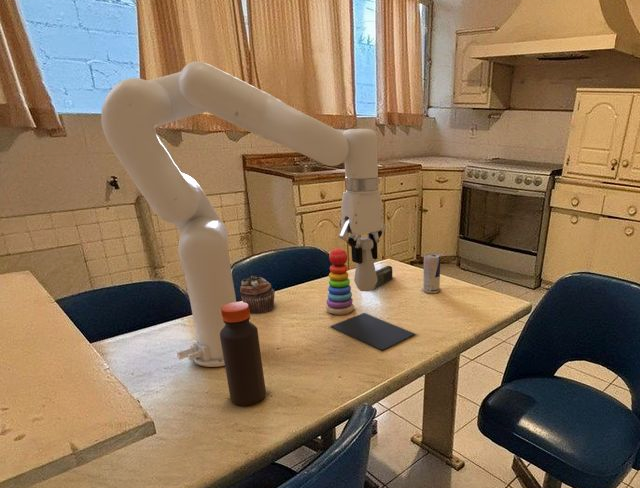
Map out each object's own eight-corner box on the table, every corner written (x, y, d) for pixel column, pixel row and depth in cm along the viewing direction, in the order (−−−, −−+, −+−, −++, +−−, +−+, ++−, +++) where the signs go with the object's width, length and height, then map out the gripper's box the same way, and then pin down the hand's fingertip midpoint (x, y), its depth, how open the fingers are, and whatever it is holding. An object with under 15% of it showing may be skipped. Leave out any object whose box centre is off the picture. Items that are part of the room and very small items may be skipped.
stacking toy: (351, 316, 130) (348, 253, 123) (324, 315, 130) (319, 252, 123) (355, 305, 138) (353, 245, 131) (329, 305, 138) (325, 245, 131)
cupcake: (267, 315, 130) (263, 282, 126) (236, 313, 132) (231, 280, 128) (282, 303, 139) (278, 272, 135) (253, 300, 140) (248, 270, 136)
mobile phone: (386, 264, 161) (365, 275, 148) (393, 265, 160) (373, 276, 147) (386, 277, 163) (365, 289, 150) (393, 278, 161) (373, 291, 148)
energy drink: (442, 289, 151) (443, 255, 146) (434, 294, 147) (435, 259, 142) (428, 286, 154) (429, 252, 149) (420, 291, 149) (420, 256, 145)
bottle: (225, 396, 93) (209, 306, 85) (256, 384, 97) (244, 297, 89) (239, 411, 88) (224, 317, 81) (272, 397, 92) (260, 307, 85)
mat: (382, 351, 111) (382, 349, 111) (330, 327, 123) (330, 325, 123) (415, 335, 120) (415, 333, 119) (363, 314, 132) (363, 312, 132)
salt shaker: (353, 285, 117) (350, 236, 112) (374, 283, 119) (373, 235, 114) (357, 293, 112) (354, 242, 107) (379, 291, 114) (378, 240, 109)
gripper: (377, 180, 114) (379, 250, 121) (322, 187, 102) (328, 264, 109) (398, 183, 109) (399, 256, 116) (344, 190, 98) (348, 271, 105)
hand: (364, 259), depth 113 cm, fingers closed on salt shaker, 4 cm apart
